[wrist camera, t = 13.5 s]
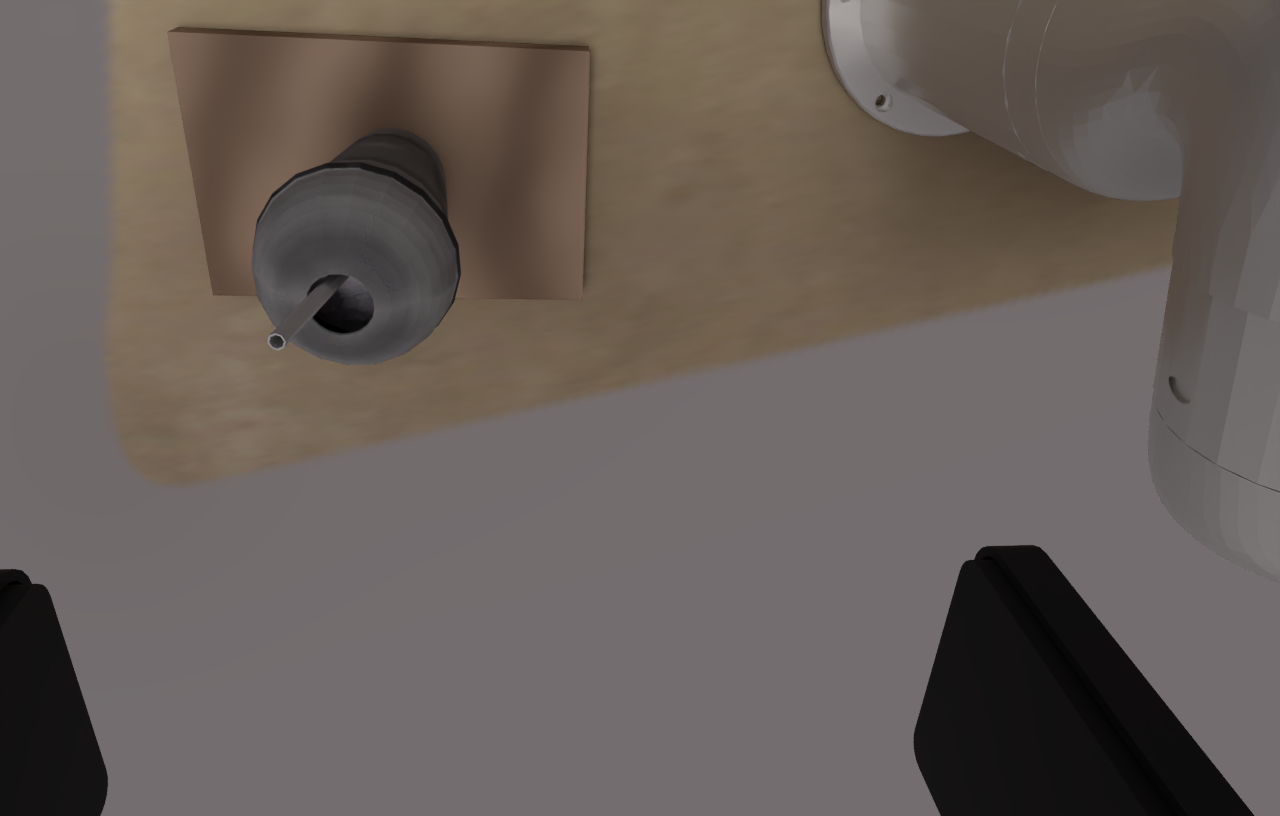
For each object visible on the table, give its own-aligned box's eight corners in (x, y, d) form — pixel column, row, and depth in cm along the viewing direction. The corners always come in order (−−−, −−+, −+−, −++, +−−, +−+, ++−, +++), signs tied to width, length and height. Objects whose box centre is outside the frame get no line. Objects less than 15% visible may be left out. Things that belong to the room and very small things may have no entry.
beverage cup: (408, 280, 46) (339, 518, 28) (282, 179, 43) (119, 376, 25) (506, 175, 44) (498, 360, 26) (381, 61, 41) (279, 186, 23)
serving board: (588, 46, 43) (590, 51, 42) (580, 288, 49) (582, 299, 47) (178, 27, 41) (167, 31, 39) (221, 283, 46) (213, 295, 45)
